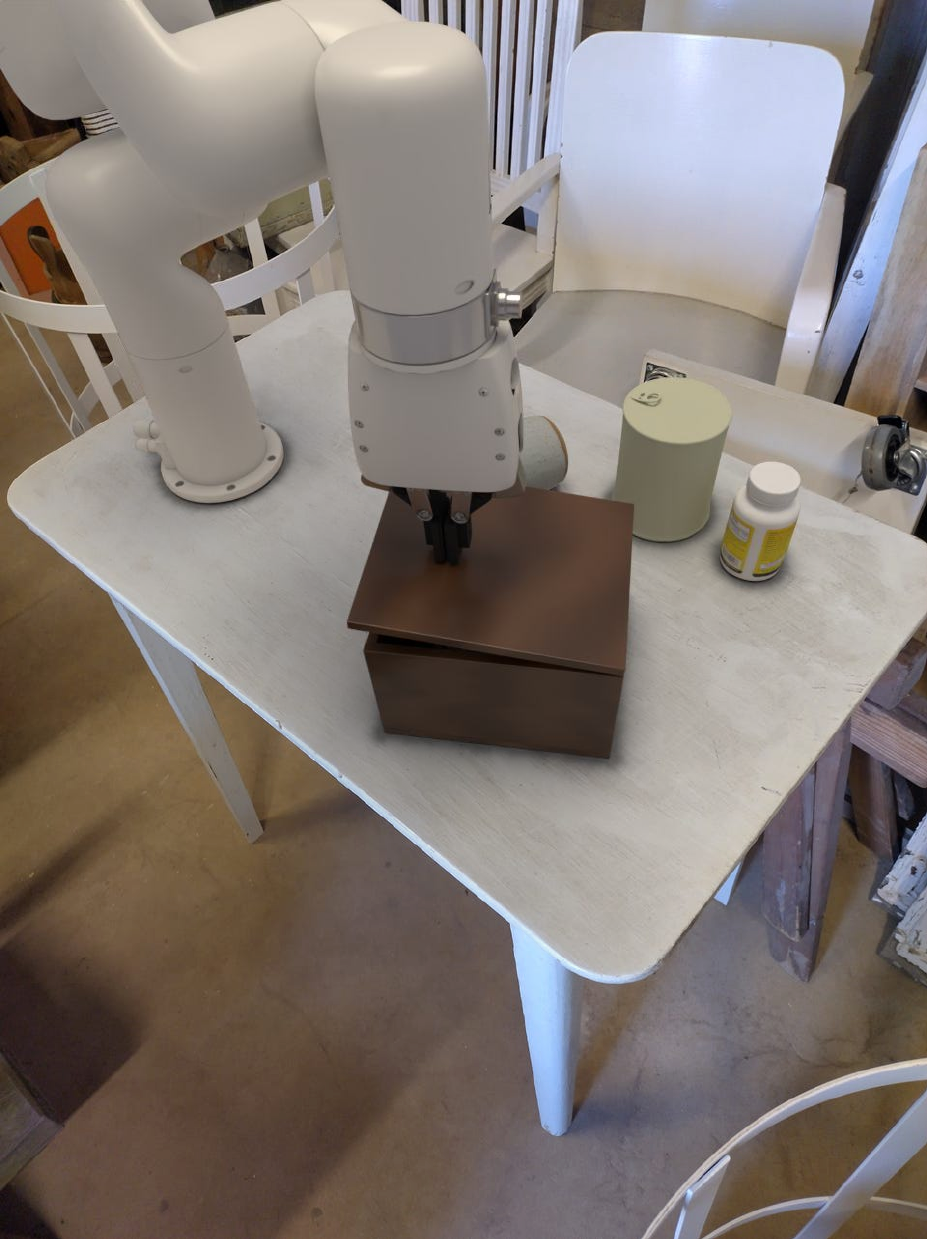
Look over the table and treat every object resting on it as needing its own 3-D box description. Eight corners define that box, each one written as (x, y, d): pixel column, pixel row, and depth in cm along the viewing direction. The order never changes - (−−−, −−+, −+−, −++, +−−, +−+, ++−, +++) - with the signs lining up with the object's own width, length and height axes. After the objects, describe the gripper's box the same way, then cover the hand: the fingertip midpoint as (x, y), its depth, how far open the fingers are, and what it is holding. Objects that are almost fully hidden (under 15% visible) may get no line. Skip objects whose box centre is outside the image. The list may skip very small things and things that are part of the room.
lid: (347, 629, 54) (346, 621, 53) (397, 472, 64) (397, 464, 63) (622, 677, 53) (625, 670, 52) (632, 511, 63) (634, 503, 62)
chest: (383, 732, 64) (362, 650, 56) (422, 584, 74) (409, 495, 65) (609, 759, 61) (623, 677, 53) (619, 601, 71) (632, 511, 63)
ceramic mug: (572, 496, 80) (575, 432, 74) (499, 527, 77) (496, 464, 72) (517, 439, 86) (516, 376, 80) (448, 466, 84) (442, 403, 78)
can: (634, 465, 82) (648, 361, 73) (723, 493, 79) (749, 388, 69) (595, 522, 77) (604, 419, 68) (688, 555, 74) (711, 451, 65)
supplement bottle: (786, 547, 74) (816, 464, 66) (774, 590, 71) (804, 507, 63) (725, 532, 75) (748, 449, 68) (711, 573, 72) (734, 490, 65)
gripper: (571, 278, 45) (561, 520, 59) (310, 271, 47) (361, 506, 61) (558, 356, 40) (551, 599, 54) (270, 345, 42) (335, 580, 57)
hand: (450, 549), depth 58 cm, fingers closed
